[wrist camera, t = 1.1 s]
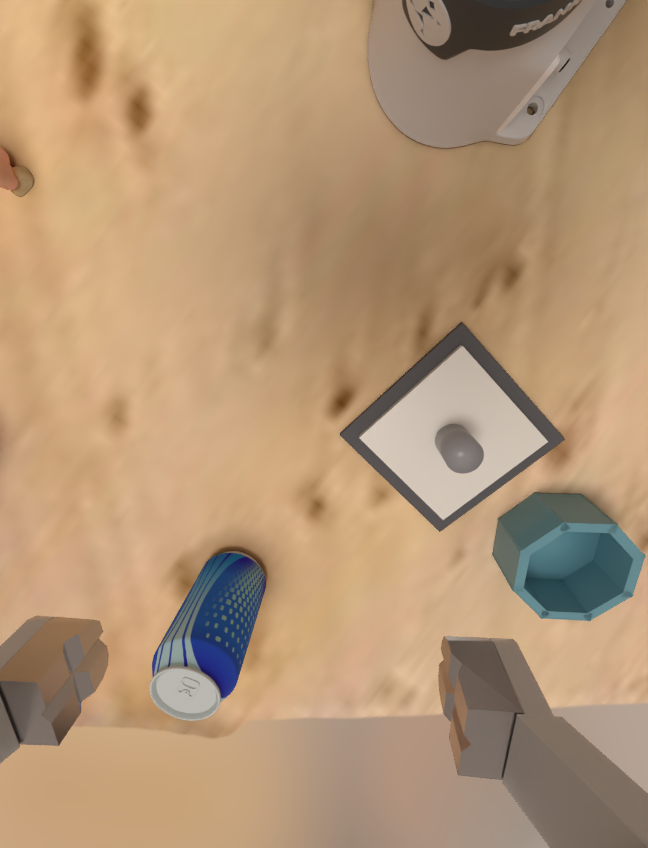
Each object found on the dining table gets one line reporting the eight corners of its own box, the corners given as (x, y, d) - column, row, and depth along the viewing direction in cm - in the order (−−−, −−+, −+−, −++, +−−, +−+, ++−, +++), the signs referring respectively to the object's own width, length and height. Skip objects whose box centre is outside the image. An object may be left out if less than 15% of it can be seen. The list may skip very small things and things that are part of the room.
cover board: (460, 344, 37) (477, 351, 32) (544, 439, 39) (572, 458, 34) (358, 435, 41) (359, 454, 36) (441, 516, 43) (453, 544, 38)
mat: (461, 322, 37) (462, 322, 36) (562, 437, 40) (565, 439, 39) (339, 433, 41) (339, 435, 41) (438, 529, 44) (439, 531, 44)
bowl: (561, 472, 41) (595, 500, 35) (623, 541, 43) (665, 577, 37) (473, 535, 44) (491, 570, 38) (534, 596, 46) (560, 637, 40)
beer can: (279, 587, 49) (246, 715, 33) (225, 605, 50) (171, 736, 35) (249, 537, 46) (199, 650, 31) (194, 558, 48) (121, 675, 33)
